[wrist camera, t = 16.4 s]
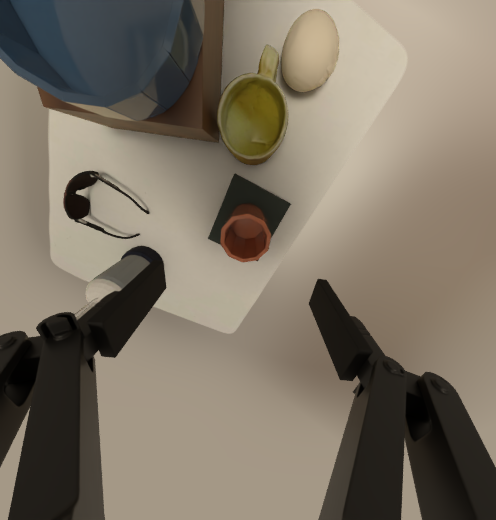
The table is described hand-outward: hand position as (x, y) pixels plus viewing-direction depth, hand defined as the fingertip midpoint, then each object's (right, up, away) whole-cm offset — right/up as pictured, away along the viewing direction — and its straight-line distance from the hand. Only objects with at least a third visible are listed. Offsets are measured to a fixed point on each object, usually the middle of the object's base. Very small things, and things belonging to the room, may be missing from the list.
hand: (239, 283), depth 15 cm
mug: (+2, +25, +14) cm, 28 cm away
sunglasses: (-26, +13, +21) cm, 35 cm away
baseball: (+9, +30, +11) cm, 33 cm away
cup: (+1, +10, +21) cm, 23 cm away
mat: (+1, +10, +21) cm, 23 cm away
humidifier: (-23, +2, +26) cm, 35 cm away
